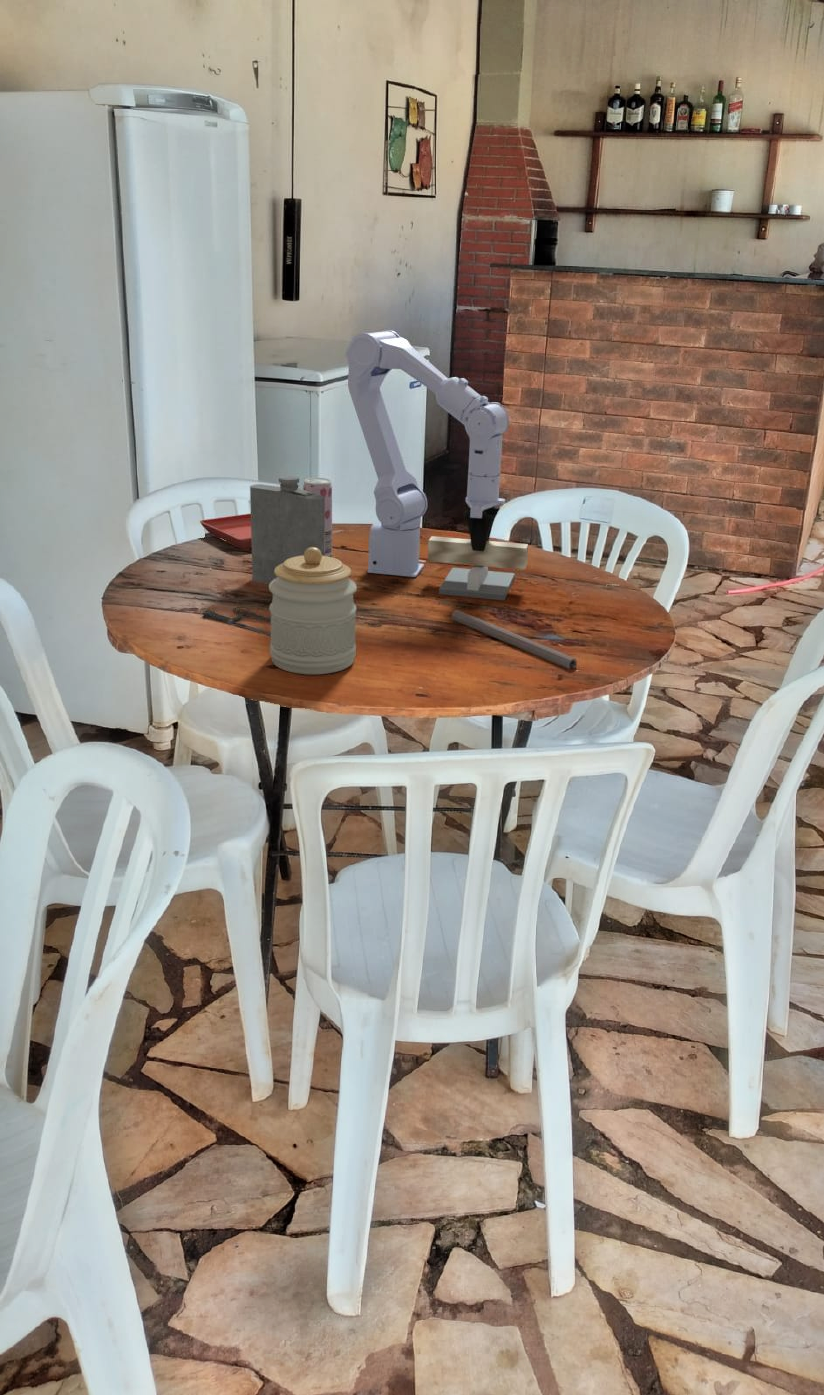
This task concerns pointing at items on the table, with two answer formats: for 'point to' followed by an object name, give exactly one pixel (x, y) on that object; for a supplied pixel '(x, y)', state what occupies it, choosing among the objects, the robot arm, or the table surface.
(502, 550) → the birch beam
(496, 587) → the grey stepped base
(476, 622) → the metal rod
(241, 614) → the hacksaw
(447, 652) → the table surface
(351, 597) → the jar
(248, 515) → the plant saucer
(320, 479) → the beverage can
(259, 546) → the hip flask
